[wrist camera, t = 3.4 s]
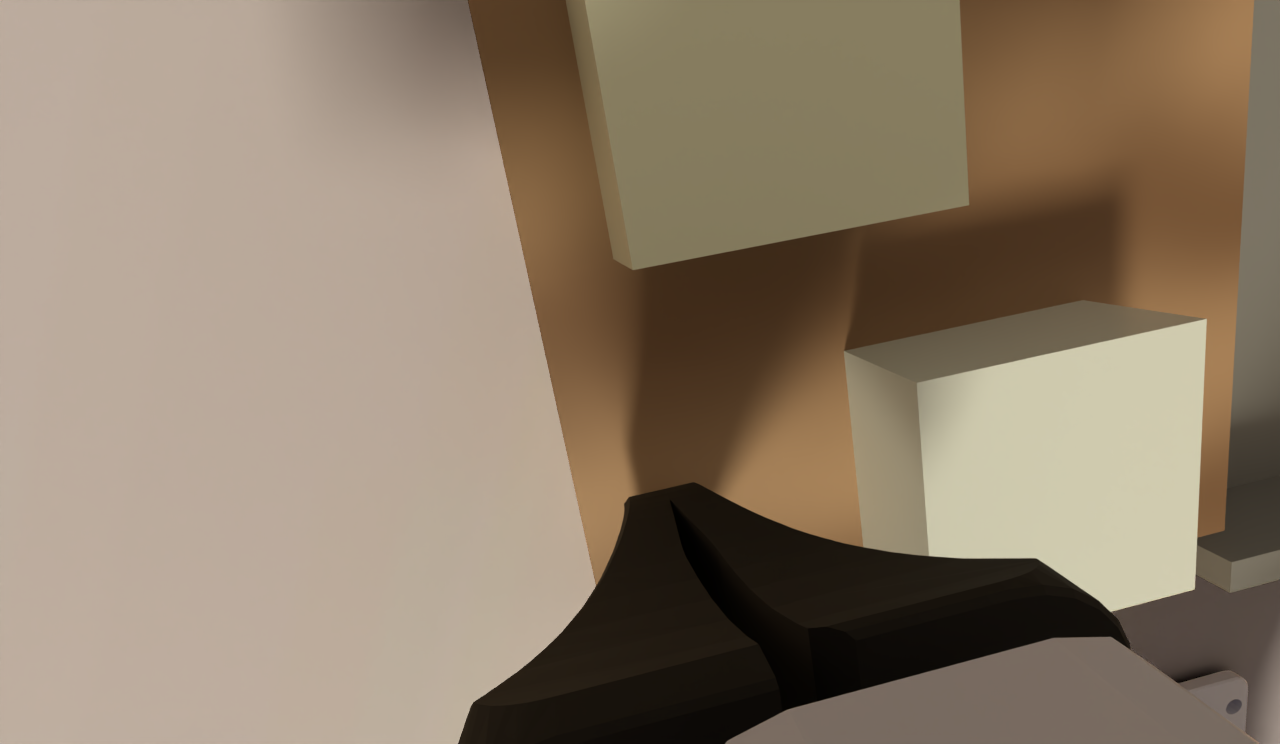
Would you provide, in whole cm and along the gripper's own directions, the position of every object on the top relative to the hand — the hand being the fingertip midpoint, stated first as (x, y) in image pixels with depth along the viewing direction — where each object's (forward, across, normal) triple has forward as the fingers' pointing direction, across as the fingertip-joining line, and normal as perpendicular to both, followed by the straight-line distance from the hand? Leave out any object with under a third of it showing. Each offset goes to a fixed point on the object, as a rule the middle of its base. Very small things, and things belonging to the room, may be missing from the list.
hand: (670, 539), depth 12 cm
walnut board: (+4, -6, -4) cm, 8 cm away
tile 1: (0, -6, 0) cm, 7 cm away
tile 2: (0, -2, -8) cm, 8 cm away
